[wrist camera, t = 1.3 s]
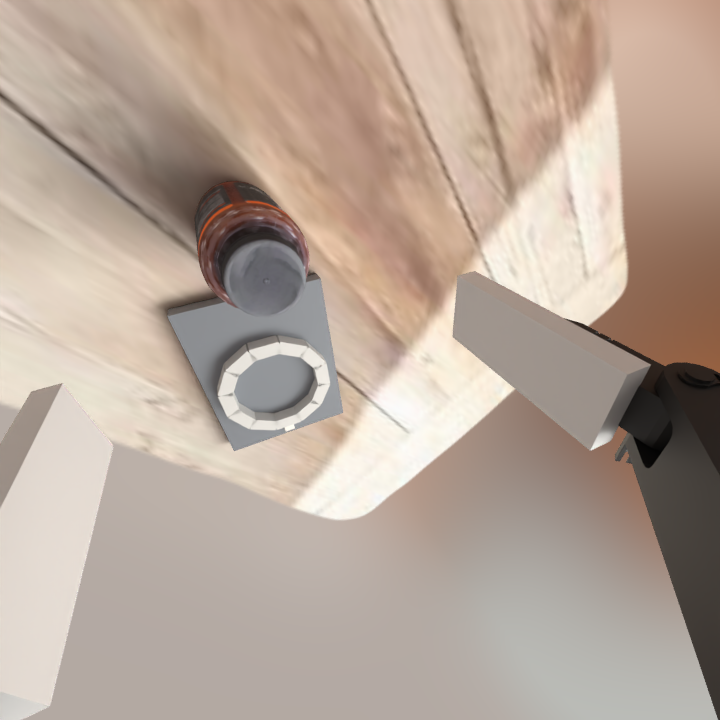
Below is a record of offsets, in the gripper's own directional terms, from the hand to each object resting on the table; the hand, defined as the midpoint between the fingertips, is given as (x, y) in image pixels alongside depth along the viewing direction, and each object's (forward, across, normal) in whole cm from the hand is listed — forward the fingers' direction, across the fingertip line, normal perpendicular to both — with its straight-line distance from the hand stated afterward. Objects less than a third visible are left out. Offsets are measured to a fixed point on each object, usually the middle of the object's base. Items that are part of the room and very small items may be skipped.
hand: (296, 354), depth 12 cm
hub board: (+18, -1, -12) cm, 22 cm away
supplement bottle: (+18, 0, 0) cm, 18 cm away
